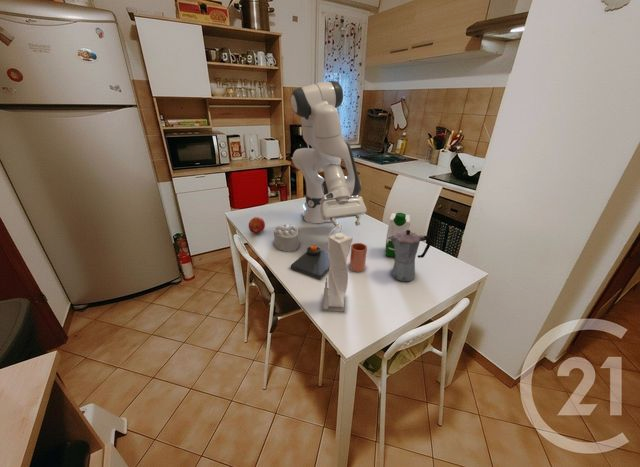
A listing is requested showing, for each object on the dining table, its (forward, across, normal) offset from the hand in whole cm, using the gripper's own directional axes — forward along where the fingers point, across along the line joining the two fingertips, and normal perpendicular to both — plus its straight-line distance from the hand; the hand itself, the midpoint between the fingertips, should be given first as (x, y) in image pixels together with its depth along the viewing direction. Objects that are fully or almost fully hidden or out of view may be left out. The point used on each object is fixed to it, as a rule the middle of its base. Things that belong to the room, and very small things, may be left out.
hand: (348, 226), depth 111 cm
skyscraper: (+29, +16, +8) cm, 34 cm away
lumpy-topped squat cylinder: (-2, +23, -22) cm, 32 cm away
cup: (+17, 0, -3) cm, 18 cm away
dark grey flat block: (+12, +15, -8) cm, 21 cm away
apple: (-14, +35, -35) cm, 51 cm away
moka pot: (+25, -16, +4) cm, 30 cm away
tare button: (+5, +14, -11) cm, 18 cm away
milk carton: (+14, -21, -6) cm, 26 cm away
